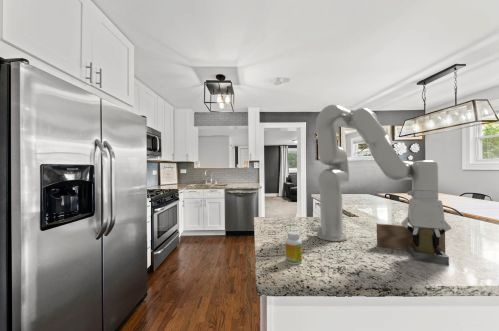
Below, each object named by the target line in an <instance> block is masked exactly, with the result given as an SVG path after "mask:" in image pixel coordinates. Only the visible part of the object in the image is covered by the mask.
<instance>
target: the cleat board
mask: <svg viewBox="0 0 499 331" xmlns="http://www.w3.org/2000/svg"><path fill="white" fill-rule="evenodd" d="M409 226H410V227H411V228H412V227H413V226H411V225H409ZM417 235H418V233H417ZM376 247H379V248H387V249H395V250H404V251H408V254H409V255H410V256H411V258H412V260H413V261H416V262H422V263H432V264H438V265H439V264H440V265H447V266H449V265H450V257H449V255H447V254H446V232H445V233H444V234H442V235H441V236H440V237H439V246H437V249H436V248H434V253H435V255H433V254H425V253H417V252H416V251H415V247H416V245H415V244H414V243H413V236H412V233H411V232H410V231H409V230H408V229H407V228H405V227H404V226H403V225H402V224H391V223H390V224H389V223H388V224H387V223H378V222H377V223H376Z"/></svg>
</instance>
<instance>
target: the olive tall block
mask: <svg viewBox="0 0 499 331" xmlns="http://www.w3.org/2000/svg"><path fill="white" fill-rule="evenodd" d="M417 233H418V236H419V246H416V247H415V251H416V252H417V253H425V254H433V255H436V254H435V253H434V246H433V240H432V235H433V234H434V229H431V228H418V231H417Z"/></svg>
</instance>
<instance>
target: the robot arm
mask: <svg viewBox="0 0 499 331" xmlns="http://www.w3.org/2000/svg"><path fill="white" fill-rule="evenodd" d="M315 122H316V124H315V127H316V137H317V146H318V148H317V150H318V158H319V161H320V163H321V164H323V165H325V166H328V168H325V169H323V170H321V172H320V173H319V175H318V177H317V178H318V179H317V184H318V190H319V200H320V202H319V204H320V225H319V226H311V227H310V231H312V232H314V233H315V232H317V234H316V237H317V238H319V239H321V240H324V241H328V242H342V241H346V240H347V235H346V234H344V233H343V195H342V190H341V189H342V188H344V187H346V186H347V185H348V184H349V181H350V169H349V161H348V154H347V152H346V150H345V149H344V147H343V148H342V147H341V146H339V145H338V136H337V132H336V129H335V126H337V127H340V128H346V129H352V130H355V131H356V132H357V133H358V135H359V136H360V137H361V138H362V140H363V142H364V143H365V144H366V146H367V147H368V150H369V153H370V155H371V156H372V158H373V159H374V161H375V163H376V164H377V166H378V167H379V169H380V170H381V172H382V173H383V175H385V177H386V178H387V179H389V180H391V181H394V182H399V181H406V180H411V184H412V185H411V190H410V191H407V192H406V193H407V196H410V198H409V201H408V207H407V208H408V210H407V217H405V218H404V219H403V220H402V222H400V225H403V226H404V227H405V228H407V229H408V230H409V231H410V232H411V233H412V236H413V243H414V244H415V245H416V246H419V236H418V235H417V231H418V228H431V229H434V234H433V235H432V240H433V246H434V248H436V249H437V246H439V237H440V236H441V235H442V234H444V233H445V234H446V232H448V231H451V230H452V227H451V225H449V223H448V222H447V221H446V220H445V211H444V206H443V205H444V204H443V200H442V199H439V167H438V162H437V161H435V160H416V161H407V160H403V159H402V158H401V157H400V156H399V154H398V153H397V152H396V150H395V149H394V147H393V145H392V143H391V139H390V135H389V133H388V132H387V131H386V129H385V128H384V127H383V126H382V124H381V123H380V122H379V118H378V116H377V114H376V113H375V112H374V111H372V110H370V109H368V108H366V107H359V108H357V109H355V110H353V109H347V108H345V107H343V106H341V105H338V104H329V105H327V106H325V107H324V108H322V110H320V112H319V114H318V116H317V118H316V120H315ZM408 224H409V225H408ZM410 226H413V227H412V228H411V227H410Z"/></svg>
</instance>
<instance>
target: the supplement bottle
mask: <svg viewBox="0 0 499 331" xmlns="http://www.w3.org/2000/svg"><path fill="white" fill-rule="evenodd" d="M285 262H286V263H287V264H289V265H295V266H296V265H300V264H302V262H303V243H302V240H301V239H300V232H298V231H289V232H287V238H286V239H285Z"/></svg>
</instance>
